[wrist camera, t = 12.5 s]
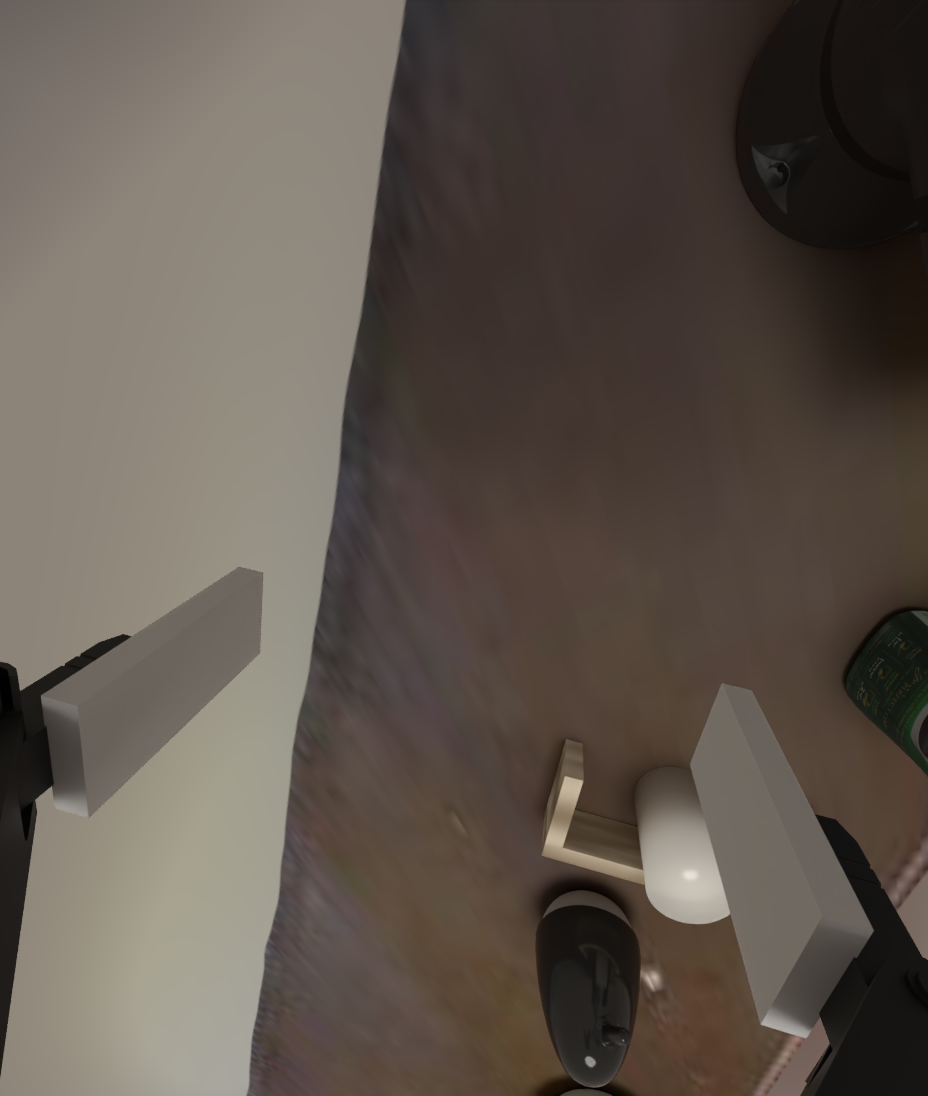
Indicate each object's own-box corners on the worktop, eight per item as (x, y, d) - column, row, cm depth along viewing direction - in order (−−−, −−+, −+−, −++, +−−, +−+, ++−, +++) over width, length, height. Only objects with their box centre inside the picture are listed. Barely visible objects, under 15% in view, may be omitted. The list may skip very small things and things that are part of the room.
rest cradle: (566, 738, 54) (565, 775, 49) (807, 801, 51) (830, 847, 46) (544, 814, 57) (541, 855, 52) (769, 876, 54) (787, 925, 50)
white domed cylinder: (645, 758, 53) (660, 845, 43) (721, 778, 52) (754, 871, 43) (625, 814, 55) (635, 908, 46) (697, 834, 54) (723, 934, 45)
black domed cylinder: (657, 907, 58) (683, 1086, 44) (598, 959, 62) (605, 1137, 48) (574, 856, 58) (573, 1019, 44) (520, 911, 62) (503, 1076, 48)
